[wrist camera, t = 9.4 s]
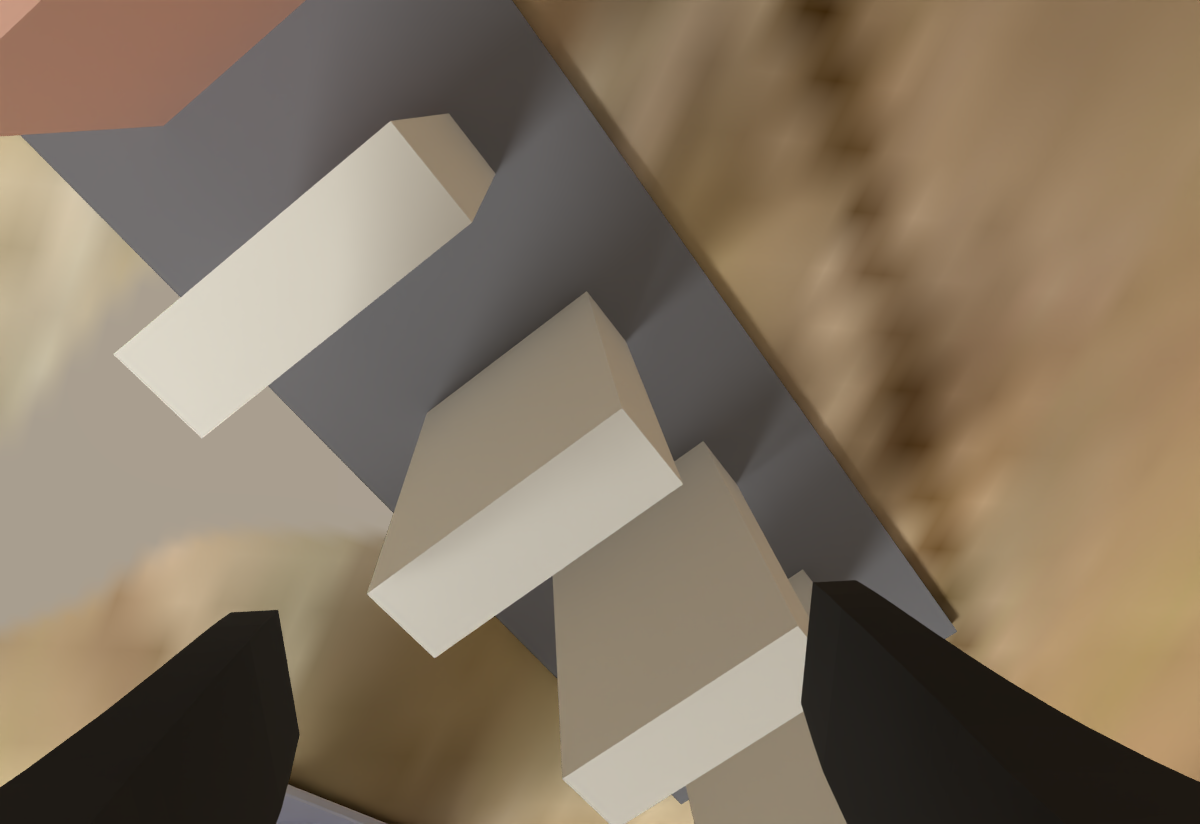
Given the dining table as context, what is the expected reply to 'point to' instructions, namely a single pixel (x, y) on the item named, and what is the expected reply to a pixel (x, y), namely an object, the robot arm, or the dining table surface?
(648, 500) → the domino
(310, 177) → the mat
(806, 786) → the domino
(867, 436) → the dining table surface
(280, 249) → the domino
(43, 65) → the domino
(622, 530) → the domino
